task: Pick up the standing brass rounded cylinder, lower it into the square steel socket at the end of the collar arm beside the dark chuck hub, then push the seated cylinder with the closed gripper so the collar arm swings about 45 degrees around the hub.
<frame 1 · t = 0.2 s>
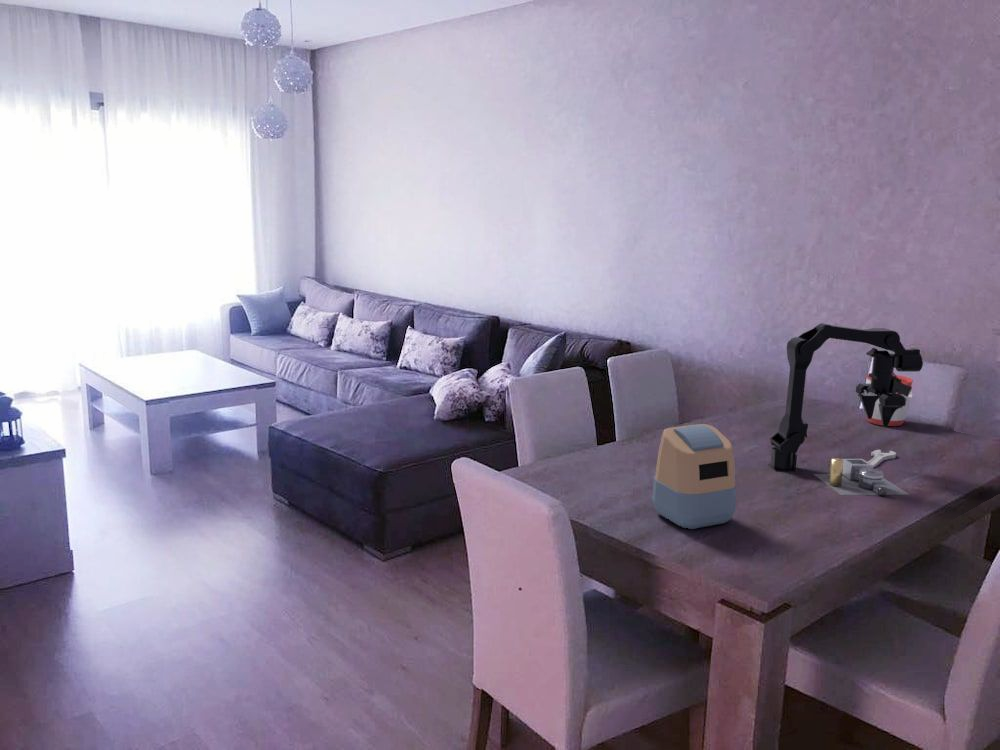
hand: (877, 422, 240), 14 cm above the table, tool pointing down, fingers open, 9 cm apart
alarm clock: (692, 519, 203), on the table
collar arm: (867, 476, 227), point 3 cm above the table, hinge at 0.0°
adjustable wrench: (873, 464, 250), on the table
brass rounded cylinder: (835, 485, 227), resting on mat
hub: (869, 488, 226), resting on mat
mat: (859, 484, 229), on the table
citrus juicer: (886, 424, 296), on the table
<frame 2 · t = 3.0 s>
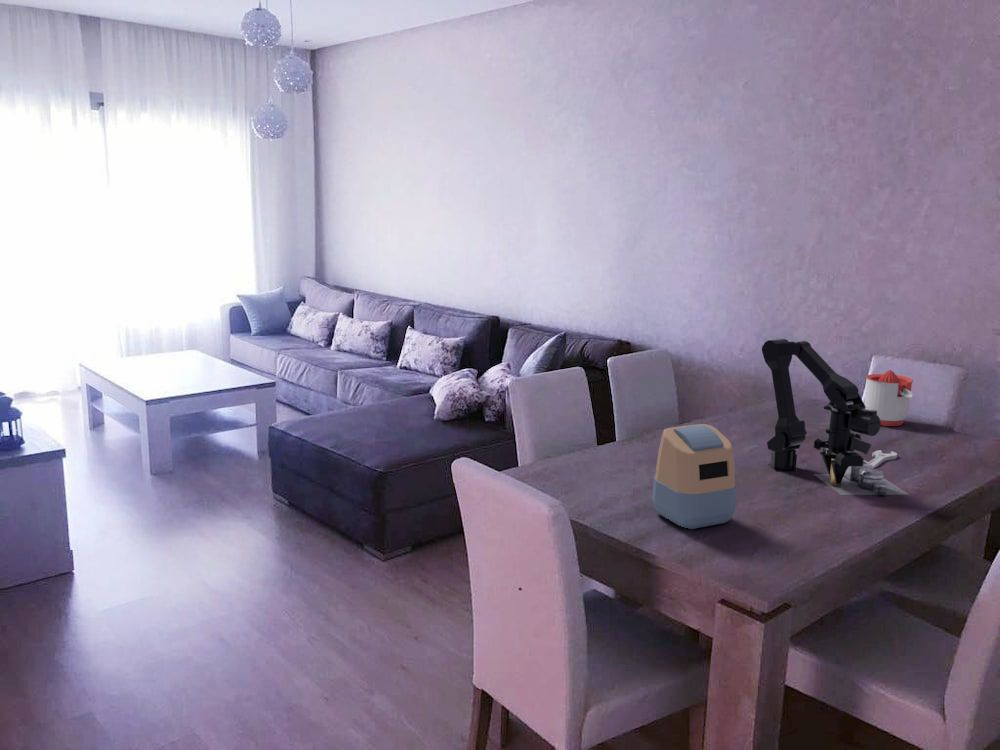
hand: (835, 481, 227), 2 cm above the table, tool pointing down, fingers closed on brass rounded cylinder, 3 cm apart
brass rounded cylinder: (835, 485, 227), resting on mat, touching gripper
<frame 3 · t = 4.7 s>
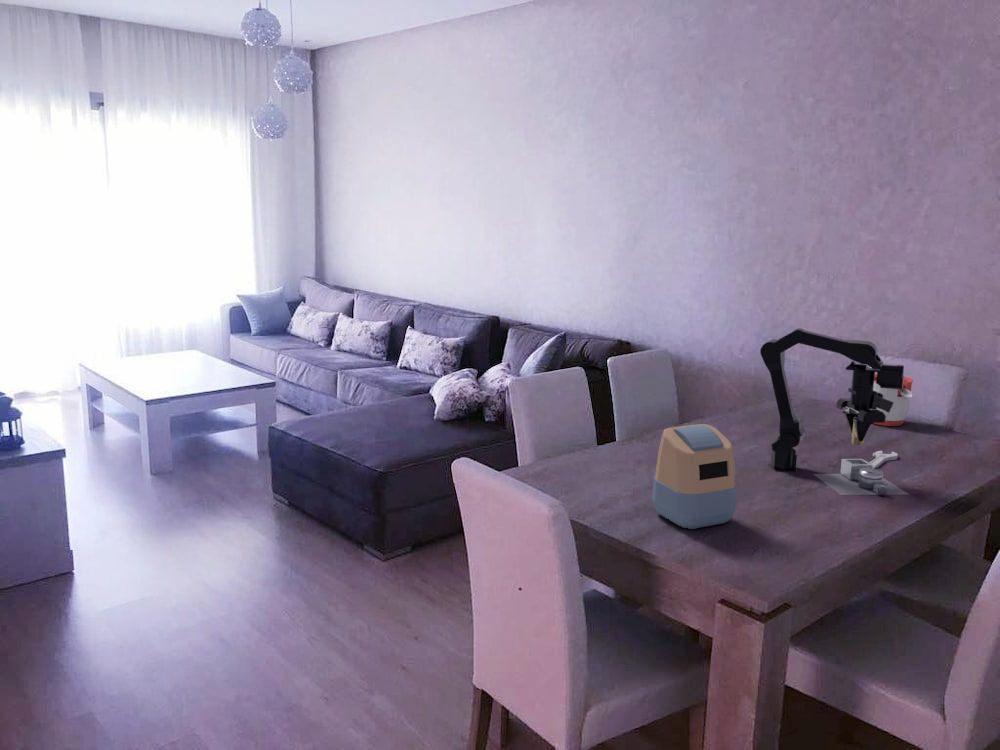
hand: (857, 439, 231), 12 cm above the table, tool pointing down, fingers closed on brass rounded cylinder, 3 cm apart
brass rounded cylinder: (857, 443, 231), point 11 cm above the table, touching gripper
when the fingers open (5 cm above the table, at t = 6.2 s): brass rounded cylinder drops 3 cm, resting on collar arm.
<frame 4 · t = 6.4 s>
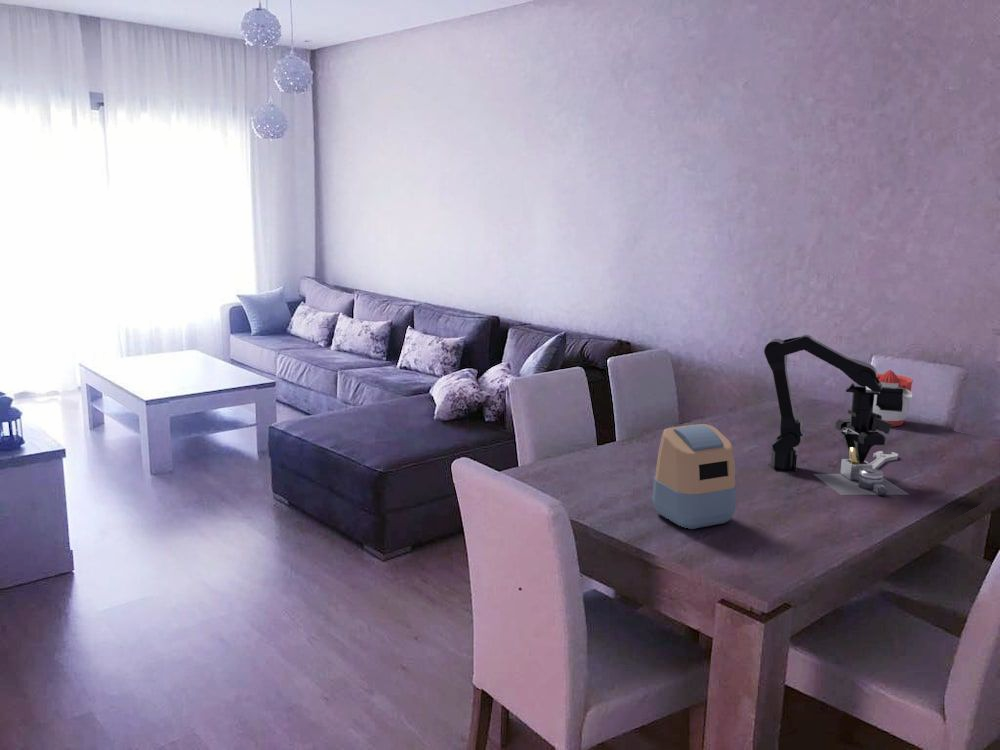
hand: (857, 460, 233), 5 cm above the table, tool pointing down, fingers open, 5 cm apart
collar arm: (867, 476, 227), point 3 cm above the table, hinge at 0.0°, touching brass rounded cylinder
brass rounded cylinder: (855, 472, 234), point 2 cm above the table, tilted 8°, touching collar arm, gripper
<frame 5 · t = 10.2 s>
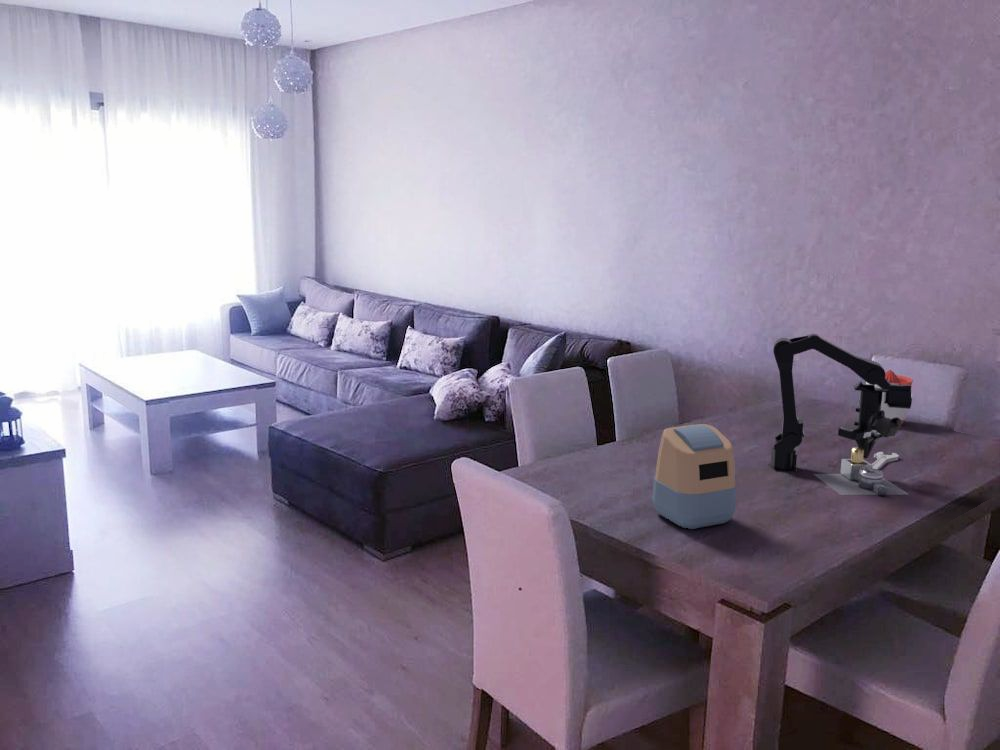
hand: (865, 457, 235), 6 cm above the table, tool pointing down, fingers closed
brass rounded cylinder: (855, 473, 234), point 2 cm above the table, touching collar arm, gripper
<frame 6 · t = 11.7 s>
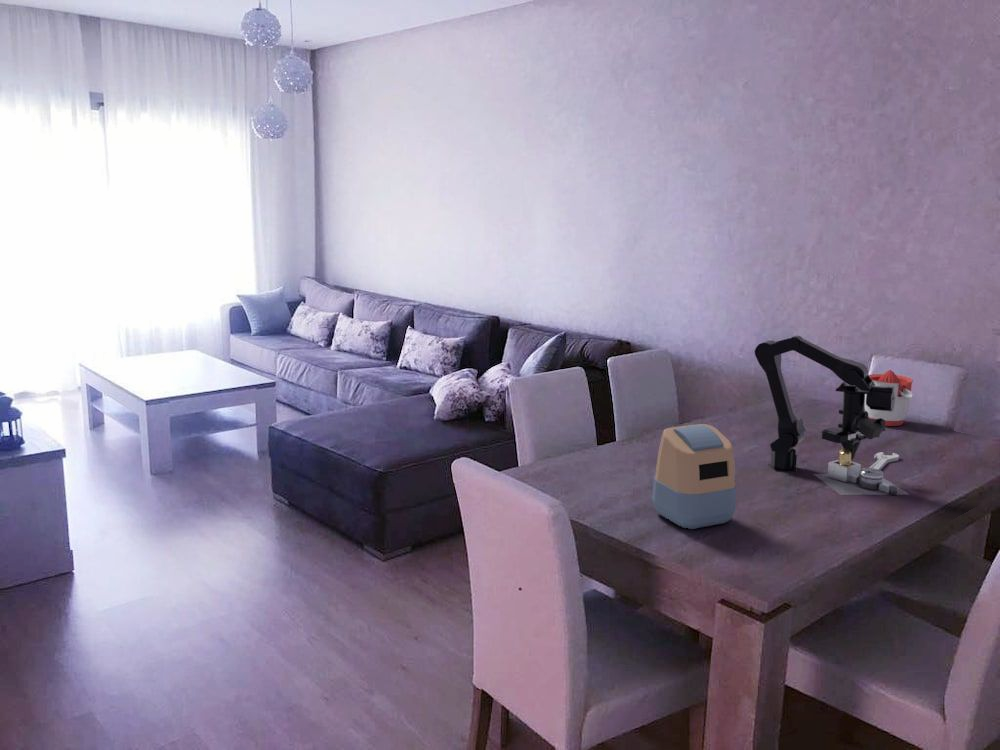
hand: (850, 459, 232), 6 cm above the table, tool pointing down, fingers closed
collar arm: (864, 476, 227), point 3 cm above the table, hinge at 29.3°, touching brass rounded cylinder
adjustable wrench: (877, 466, 247), on the table, touching mat
brass rounded cylinder: (845, 471, 233), point 2 cm above the table, tilted 26°, touching collar arm, gripper
everything else where it was.
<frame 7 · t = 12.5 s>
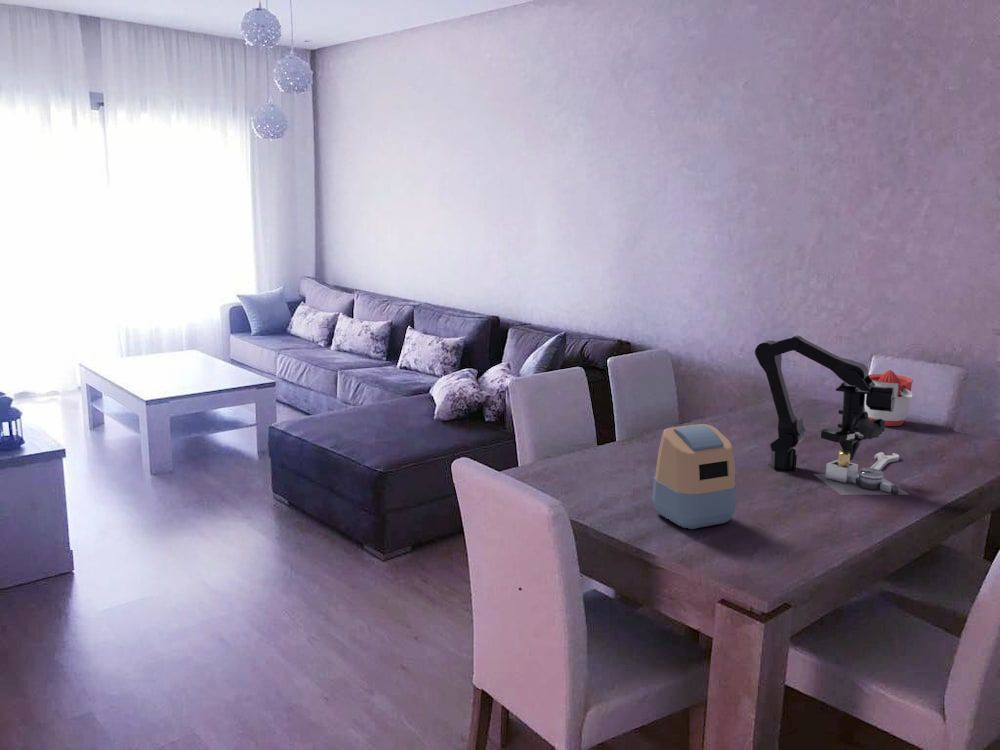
hand: (849, 460, 231), 6 cm above the table, tool pointing down, fingers closed
collar arm: (864, 476, 227), point 3 cm above the table, hinge at 36.6°, touching brass rounded cylinder
adjustable wrench: (877, 467, 247), on the table
brass rounded cylinder: (842, 472, 232), point 2 cm above the table, tilted 26°, touching collar arm, gripper
everything else where it was.
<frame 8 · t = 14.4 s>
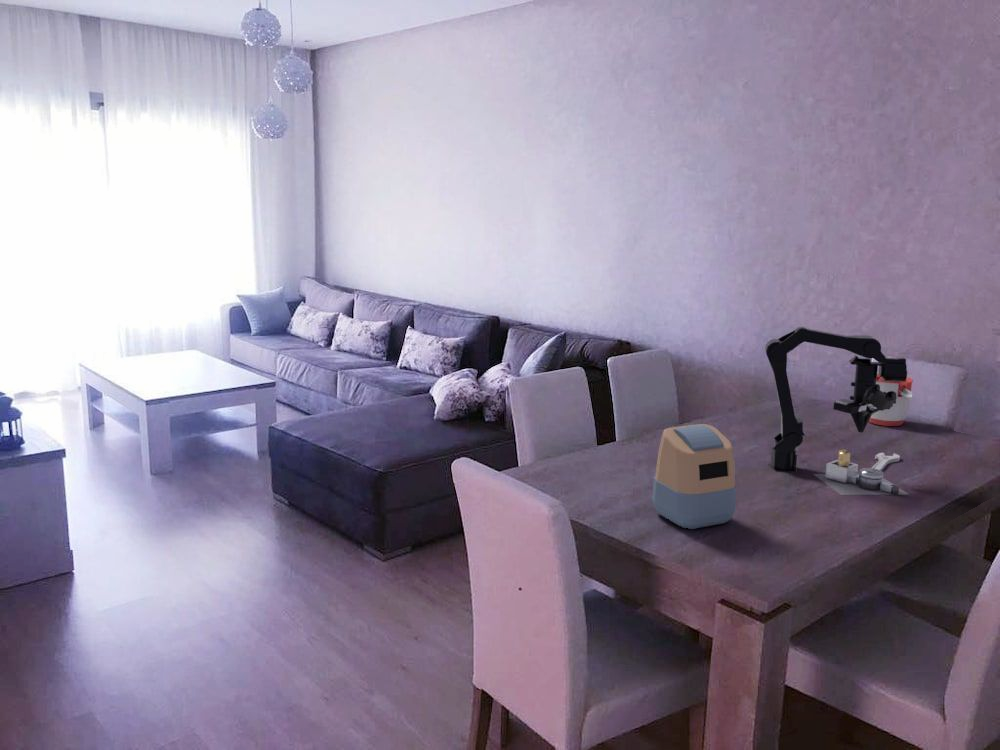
hand: (860, 432, 235), 13 cm above the table, tool pointing down, fingers closed
brass rounded cylinder: (842, 472, 232), point 2 cm above the table, tilted 26°, touching collar arm
at the end: collar arm at +37° (first picture: +0°); brass rounded cylinder touching collar arm; brass rounded cylinder tilted 26° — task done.
